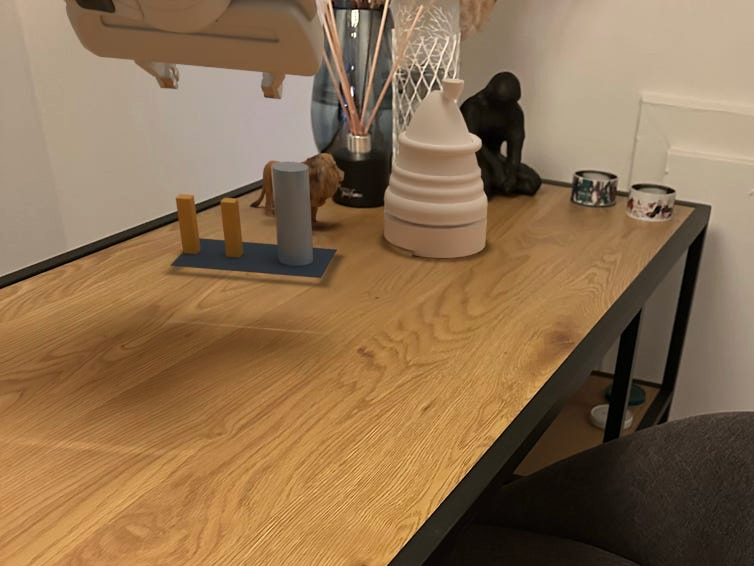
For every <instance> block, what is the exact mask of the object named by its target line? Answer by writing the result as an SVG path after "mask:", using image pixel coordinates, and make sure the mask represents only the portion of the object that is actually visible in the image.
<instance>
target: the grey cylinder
mask: <svg viewBox="0 0 754 566" xmlns="http://www.w3.org/2000/svg"><path fill="white" fill-rule="evenodd" d="M271 171H272V184H273V197H274V215H275V217H274V220H275V221H274V222H275V234H276V236H275V237H276V245H277V249H278V260H279V262H280V263H282V264H285V265H289V266H304V265H308V264H311V263H312V262H313V248H314V246H313V244H314V243H313V227H312V225H313V223H311V205H310V186H309V167H308V166H307V165H306V164H303V163H300V162H298V161H279V162H278V163H275V164H272V166H271Z"/></svg>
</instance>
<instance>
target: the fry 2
mask: <svg viewBox="0 0 754 566" xmlns="http://www.w3.org/2000/svg"><path fill="white" fill-rule="evenodd" d="M219 203H220V211H221V213H220V214H221V219H222V221H221V222H222V229H223V238H224V239H223V240H225V249H226V256H227V257H236V258H240V257H241V256H242V255H243V245H242V242H243V235H242V227H241V215H240V206H239V199H238V198H234V197H233V198H232V197H223V198H222V199H221V200H220V202H219Z"/></svg>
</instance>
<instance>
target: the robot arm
mask: <svg viewBox="0 0 754 566" xmlns="http://www.w3.org/2000/svg"><path fill="white" fill-rule="evenodd" d="M63 1H64V2H65V11H66V15H67V18H68V20H69V23H70V25H71V27H72V30H73V31H74V33H75V35H76V37H77V39H78V41H79V42H80V44H81V45H82V47H83V48H84V49H85V50H86V51H88V52H90V53H91V54H93V55H95V56H97V57H99V58H104V59H105V58H107V59H119V60H128V61H133V62H134V63H135V65H137V66H138V67H140V68H141V69H142V70H143V71H145V72H146V73H148V74H149V75H151V76H152V77H154V78H155V80H156V81H157V84H158V86H159V87H160V89H169V90H170V89H171V90H178V89H179V83H178V82H179V81H180V71H179V69H178V67H177V65H182V66H183V65H184V66H192V67H193V66H194V67H202V68H203V67H204V68H213V69H214V68H215V69H225V70H236V71H244V72H245V71H247V72H256V73H262V79H261V81H260V82H261V84H260V88H261V91H262V93H263V98H265V99H273V100H282V97H283V90H284V81H285V79H286V75H290V76H299V77H314V76H315V75H316V74H317V73H318V72H319V71H320V70H321V68H322V65H323V60H324V59H323V58H324V53H325V52H324V51H325V32H324V29H323V25H322V21H321V20H320V16H319V14H318V5H317V0H63Z"/></svg>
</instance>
